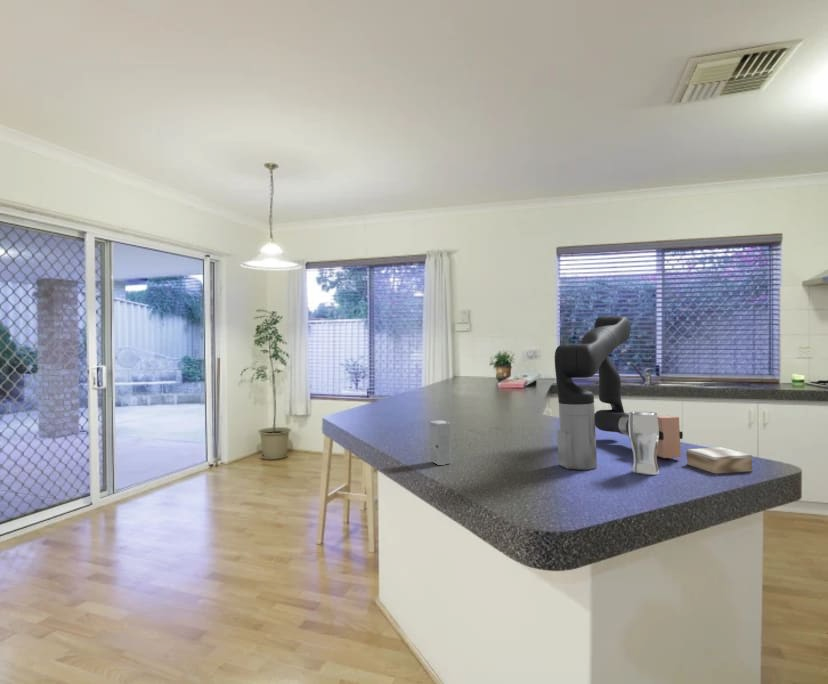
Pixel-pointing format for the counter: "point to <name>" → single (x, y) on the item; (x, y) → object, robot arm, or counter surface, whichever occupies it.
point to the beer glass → (644, 442)
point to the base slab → (719, 460)
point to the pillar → (669, 437)
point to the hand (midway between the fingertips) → (671, 435)
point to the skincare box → (440, 441)
